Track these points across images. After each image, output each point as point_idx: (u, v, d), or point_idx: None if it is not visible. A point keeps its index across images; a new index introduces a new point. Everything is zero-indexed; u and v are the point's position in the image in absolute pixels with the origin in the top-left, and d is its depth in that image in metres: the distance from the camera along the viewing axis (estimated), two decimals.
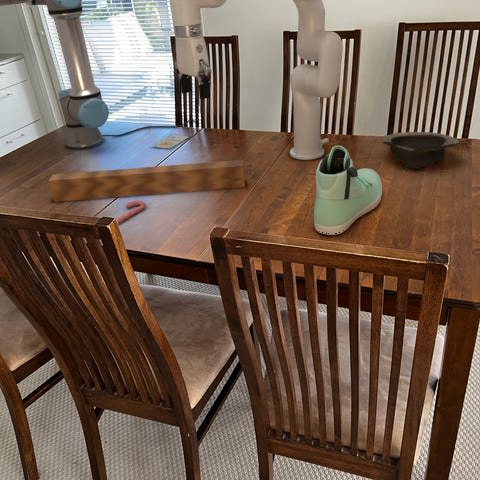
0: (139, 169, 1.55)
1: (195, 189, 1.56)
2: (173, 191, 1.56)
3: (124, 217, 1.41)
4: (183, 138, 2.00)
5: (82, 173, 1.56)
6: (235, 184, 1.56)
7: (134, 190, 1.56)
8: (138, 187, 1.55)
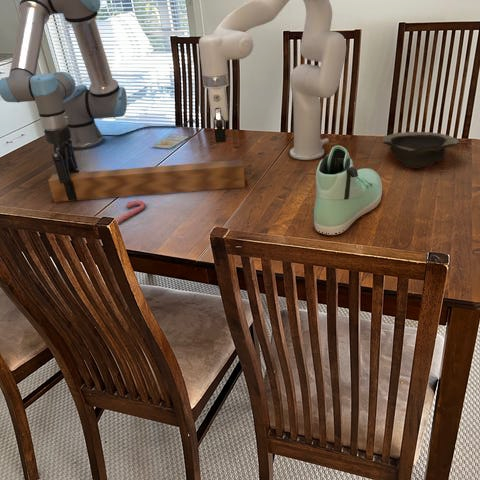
0: (139, 169, 1.55)
1: (195, 189, 1.56)
2: (173, 191, 1.56)
3: (124, 217, 1.41)
4: (183, 138, 2.00)
5: (82, 173, 1.56)
6: (235, 184, 1.56)
7: (134, 190, 1.56)
8: (138, 187, 1.55)
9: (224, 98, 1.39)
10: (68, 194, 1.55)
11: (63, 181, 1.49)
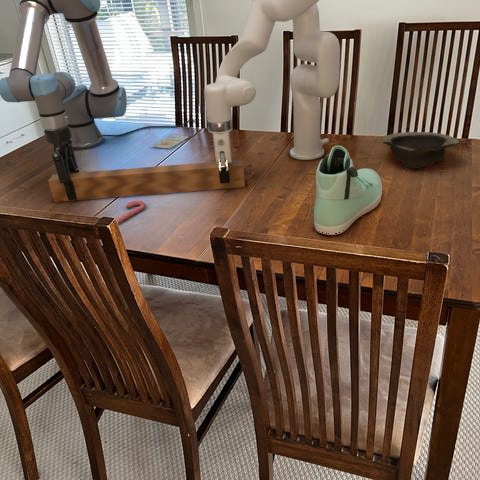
0: (139, 169, 1.55)
1: (195, 189, 1.56)
2: (173, 191, 1.56)
3: (124, 217, 1.41)
4: (183, 138, 2.00)
5: (82, 173, 1.56)
6: (235, 183, 1.56)
7: (134, 190, 1.56)
8: (138, 187, 1.55)
9: (228, 142, 1.46)
10: (68, 194, 1.55)
11: (63, 181, 1.49)
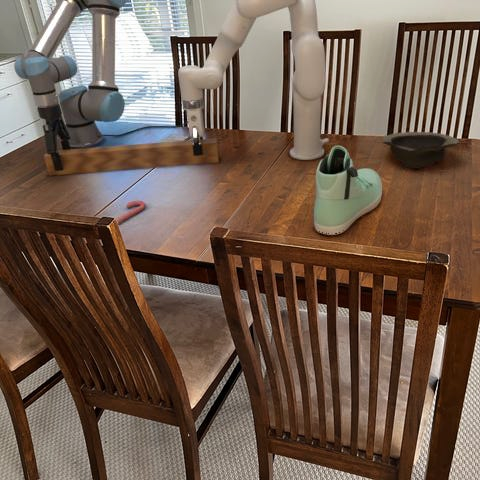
0: (124, 146, 1.75)
1: (174, 164, 1.76)
2: (155, 166, 1.76)
3: (124, 217, 1.41)
4: (183, 138, 2.00)
5: (74, 150, 1.76)
6: (209, 159, 1.75)
7: (120, 165, 1.75)
8: (123, 162, 1.75)
9: (200, 118, 1.65)
10: (55, 165, 1.70)
11: (50, 152, 1.64)
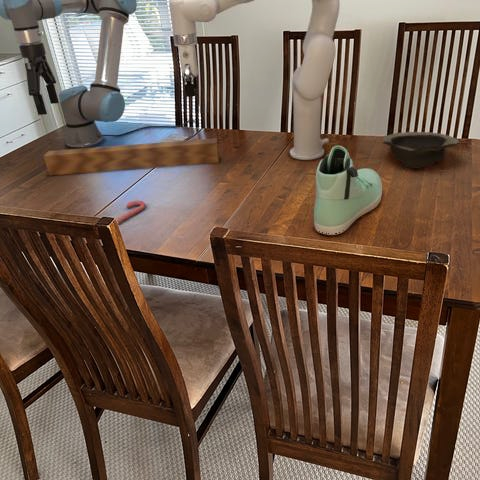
0: (124, 146, 1.75)
1: (174, 164, 1.76)
2: (155, 166, 1.76)
3: (124, 217, 1.41)
4: (183, 138, 2.00)
5: (74, 150, 1.76)
6: (209, 159, 1.75)
7: (120, 165, 1.75)
8: (123, 162, 1.75)
9: (192, 55, 1.54)
10: (37, 108, 1.59)
11: (32, 92, 1.53)
